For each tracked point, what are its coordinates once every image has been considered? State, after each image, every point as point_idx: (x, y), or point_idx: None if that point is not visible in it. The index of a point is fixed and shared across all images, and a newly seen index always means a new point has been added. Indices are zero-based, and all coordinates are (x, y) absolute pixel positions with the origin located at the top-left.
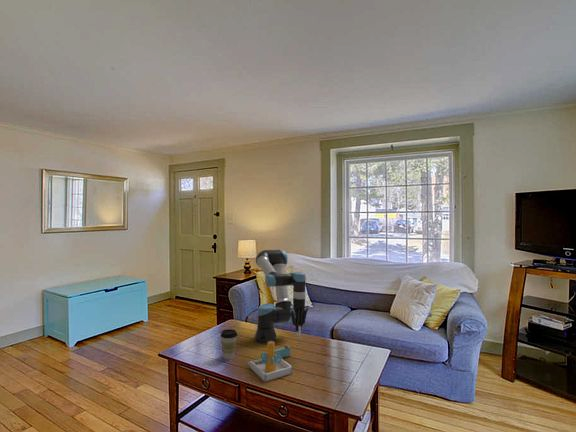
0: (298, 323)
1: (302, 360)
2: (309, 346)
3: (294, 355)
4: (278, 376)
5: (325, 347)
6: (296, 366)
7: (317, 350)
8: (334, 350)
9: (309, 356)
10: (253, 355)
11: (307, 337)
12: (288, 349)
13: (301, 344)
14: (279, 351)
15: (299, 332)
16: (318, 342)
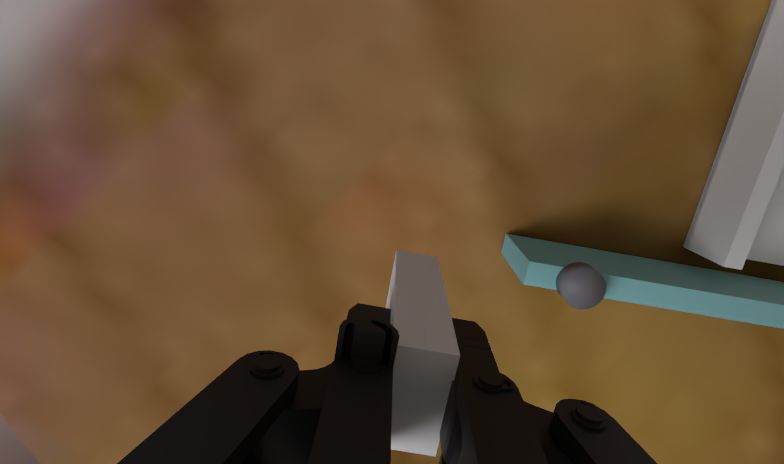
0: (486, 421)
1: (489, 72)
2: (188, 265)
3: (465, 213)
4: None
5: (50, 136)
6: (643, 10)
7: (181, 140)
8: (8, 6)
9: (359, 91)
10: (741, 445)
11: (61, 425)
12: (552, 259)
13: (226, 348)
14: (676, 281)
15: (430, 285)
16: (36, 274)
